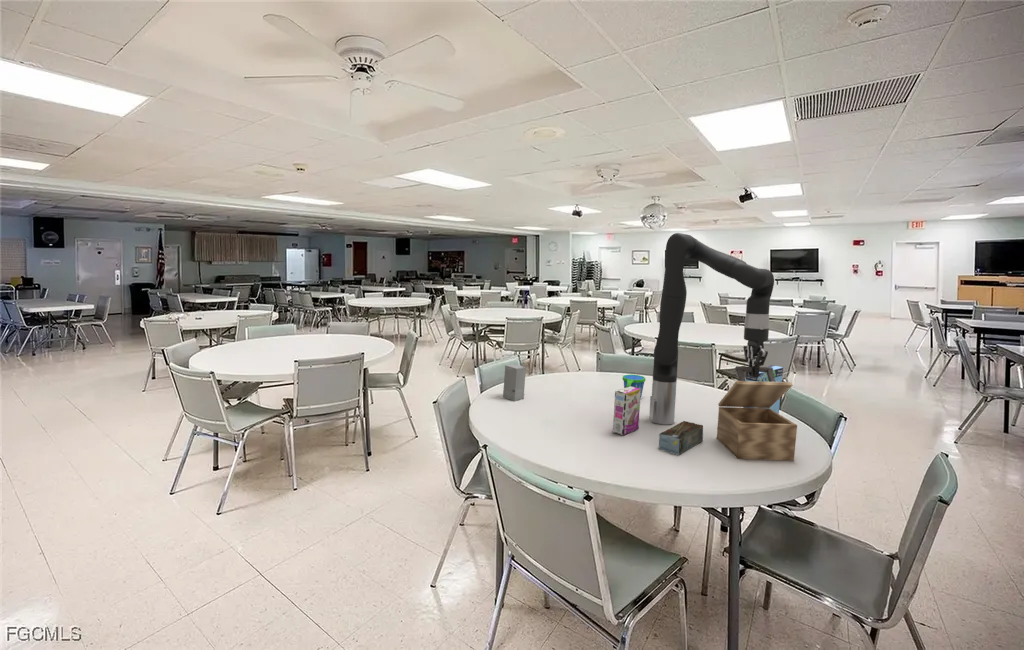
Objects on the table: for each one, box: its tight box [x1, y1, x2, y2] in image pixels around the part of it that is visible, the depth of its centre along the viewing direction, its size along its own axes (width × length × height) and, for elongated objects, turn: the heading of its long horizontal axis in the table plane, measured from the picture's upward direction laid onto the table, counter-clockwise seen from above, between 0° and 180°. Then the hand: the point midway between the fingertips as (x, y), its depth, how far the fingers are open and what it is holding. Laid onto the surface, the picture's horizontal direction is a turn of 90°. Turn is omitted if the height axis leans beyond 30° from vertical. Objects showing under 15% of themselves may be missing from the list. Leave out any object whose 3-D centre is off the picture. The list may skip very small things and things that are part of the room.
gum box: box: [742, 364, 784, 414], centre depth 185 cm, size 20×5×23 cm, turn 123°
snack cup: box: [622, 374, 646, 399], centre depth 222 cm, size 16×10×10 cm
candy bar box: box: [612, 386, 642, 437], centre depth 175 cm, size 11×5×16 cm, turn 134°
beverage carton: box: [658, 420, 704, 456], centre depth 163 cm, size 8×19×7 cm, turn 134°
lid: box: [717, 365, 793, 408], centre depth 163 cm, size 18×18×9 cm
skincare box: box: [502, 363, 527, 402], centre depth 218 cm, size 8×7×16 cm
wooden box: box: [716, 406, 798, 461], centre depth 160 cm, size 18×18×12 cm
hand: (753, 375), depth 161 cm, fingers closed on lid, 2 cm apart
